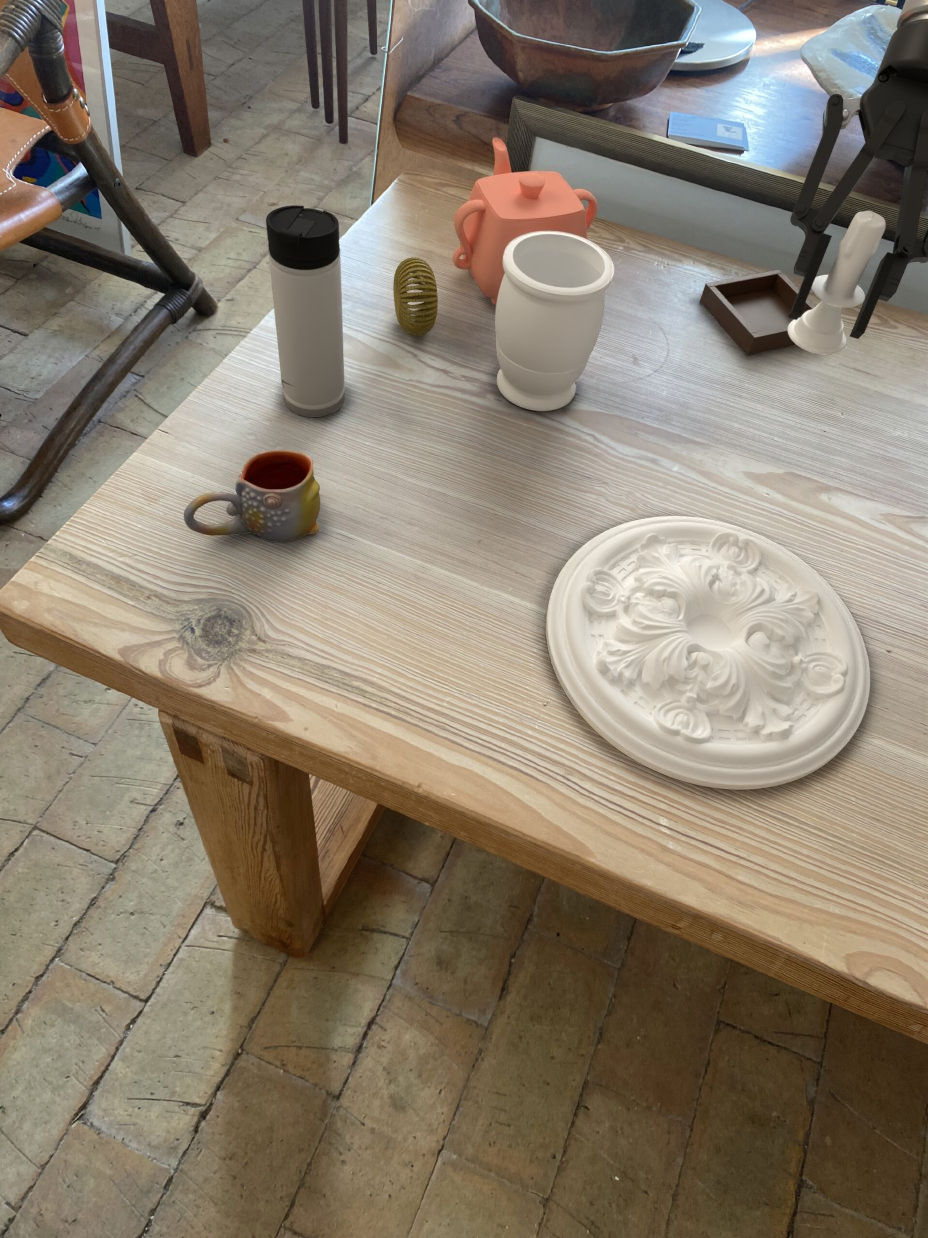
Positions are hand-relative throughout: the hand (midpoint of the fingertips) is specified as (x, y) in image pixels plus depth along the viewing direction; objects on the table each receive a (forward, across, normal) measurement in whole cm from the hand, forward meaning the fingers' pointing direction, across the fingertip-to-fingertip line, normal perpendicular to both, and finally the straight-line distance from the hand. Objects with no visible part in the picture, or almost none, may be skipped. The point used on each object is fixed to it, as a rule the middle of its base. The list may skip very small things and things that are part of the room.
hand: (825, 324), depth 77 cm
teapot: (-1, +33, -26) cm, 42 cm away
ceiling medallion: (+29, 0, +3) cm, 29 cm away
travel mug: (+20, +44, -5) cm, 49 cm away
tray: (-6, +5, -32) cm, 32 cm away
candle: (0, 0, -5) cm, 5 cm away
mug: (+33, +40, +7) cm, 53 cm away
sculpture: (+9, +40, -16) cm, 44 cm away
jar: (+11, +24, -14) cm, 31 cm away
